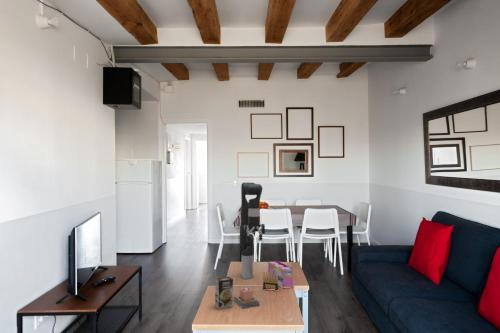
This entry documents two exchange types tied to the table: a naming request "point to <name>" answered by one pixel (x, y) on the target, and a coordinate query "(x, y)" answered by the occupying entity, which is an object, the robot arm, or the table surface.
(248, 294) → the collar
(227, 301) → the coffee box
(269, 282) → the ammunition clip
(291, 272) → the gum box
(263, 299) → the table surface
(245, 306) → the post stand
